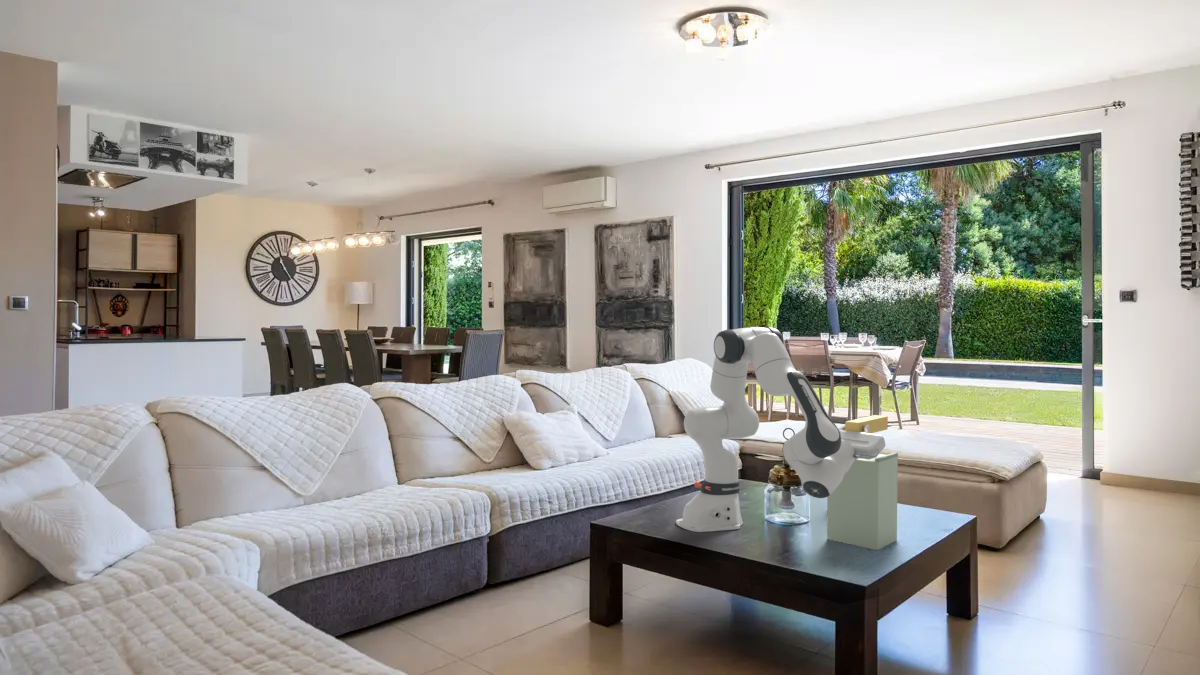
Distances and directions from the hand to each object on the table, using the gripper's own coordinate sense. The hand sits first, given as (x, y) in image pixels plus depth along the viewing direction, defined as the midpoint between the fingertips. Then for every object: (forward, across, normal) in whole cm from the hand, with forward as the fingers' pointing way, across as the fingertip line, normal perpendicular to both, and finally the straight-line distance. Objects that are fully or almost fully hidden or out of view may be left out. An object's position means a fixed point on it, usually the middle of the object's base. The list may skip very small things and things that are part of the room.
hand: (858, 426), depth 227 cm
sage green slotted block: (-8, +4, +38) cm, 39 cm away
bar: (+4, 0, +5) cm, 7 cm away
